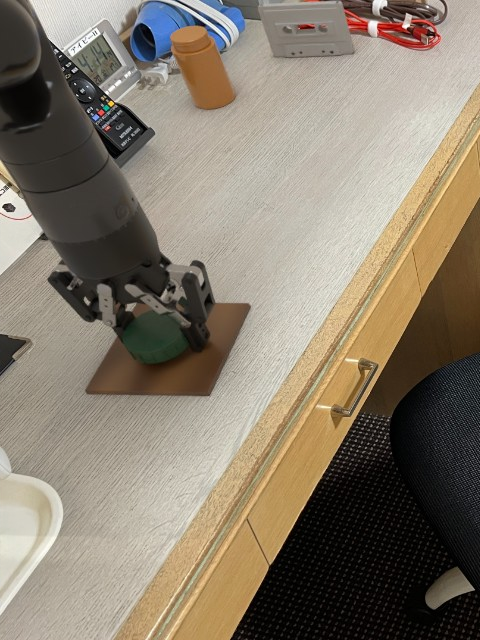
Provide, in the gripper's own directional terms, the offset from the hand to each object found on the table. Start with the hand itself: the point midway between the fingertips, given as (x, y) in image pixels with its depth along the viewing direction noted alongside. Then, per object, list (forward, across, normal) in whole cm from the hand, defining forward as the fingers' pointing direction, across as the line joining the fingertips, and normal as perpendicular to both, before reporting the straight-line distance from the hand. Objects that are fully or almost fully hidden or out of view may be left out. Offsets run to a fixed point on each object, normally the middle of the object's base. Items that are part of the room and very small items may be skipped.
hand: (170, 344), depth 82 cm
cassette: (+1, +2, -59) cm, 59 cm away
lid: (-3, 0, +1) cm, 3 cm away
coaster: (+1, 0, 0) cm, 1 cm away
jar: (+1, +13, -47) cm, 48 cm away
